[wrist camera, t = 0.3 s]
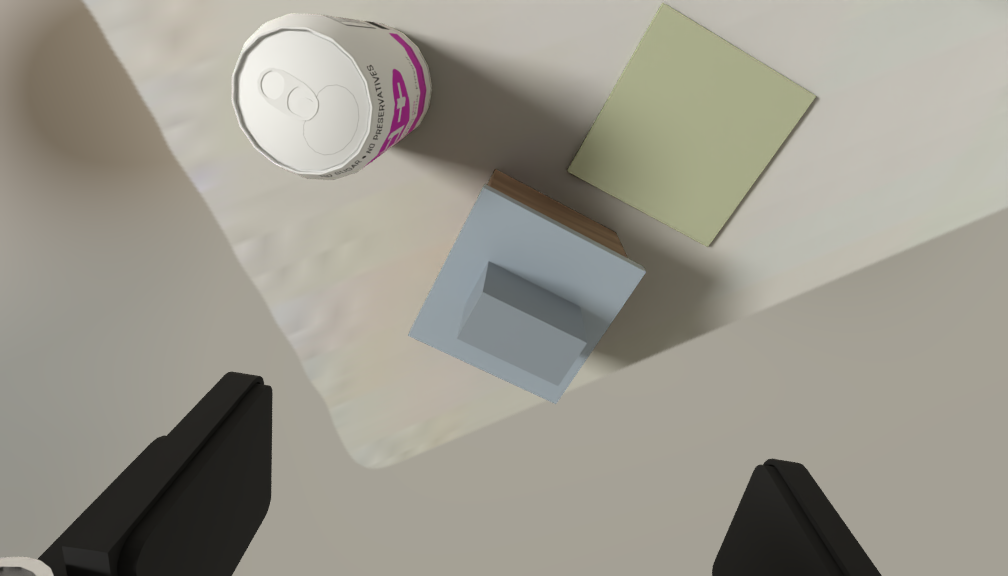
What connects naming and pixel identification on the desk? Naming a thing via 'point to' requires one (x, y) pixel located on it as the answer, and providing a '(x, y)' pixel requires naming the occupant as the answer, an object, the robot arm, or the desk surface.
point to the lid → (524, 296)
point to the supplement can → (328, 92)
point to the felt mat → (688, 127)
